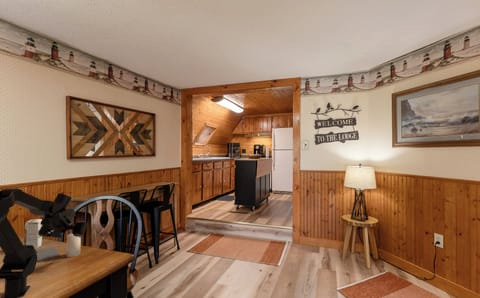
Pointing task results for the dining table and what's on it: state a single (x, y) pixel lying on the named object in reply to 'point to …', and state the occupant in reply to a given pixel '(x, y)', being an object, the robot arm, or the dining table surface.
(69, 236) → the candle jar
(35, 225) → the syrup box
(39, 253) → the placemat
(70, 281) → the dining table surface
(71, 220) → the robot arm
